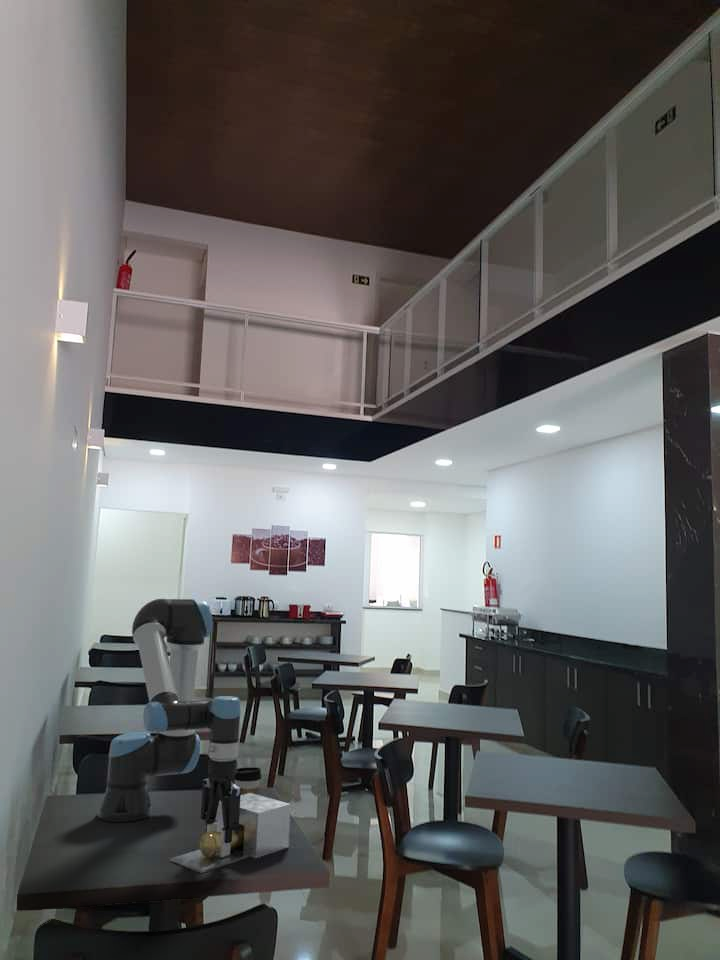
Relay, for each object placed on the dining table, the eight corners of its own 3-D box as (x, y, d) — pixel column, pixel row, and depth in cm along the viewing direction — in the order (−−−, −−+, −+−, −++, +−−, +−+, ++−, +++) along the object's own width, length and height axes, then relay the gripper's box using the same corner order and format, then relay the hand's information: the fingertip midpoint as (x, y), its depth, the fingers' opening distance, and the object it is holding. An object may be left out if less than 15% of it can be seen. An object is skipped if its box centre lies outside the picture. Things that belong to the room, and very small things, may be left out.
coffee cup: (253, 827, 214) (256, 773, 216) (226, 824, 216) (229, 770, 218) (263, 818, 222) (265, 766, 224) (236, 816, 224) (239, 764, 226)
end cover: (198, 854, 188) (200, 831, 189) (239, 842, 199) (240, 820, 200) (213, 860, 185) (214, 836, 186) (253, 846, 195) (255, 824, 196)
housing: (165, 859, 186) (168, 813, 188) (248, 833, 208) (250, 792, 210) (206, 875, 176) (209, 826, 178) (288, 847, 198) (290, 804, 200)
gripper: (189, 754, 196) (184, 848, 192) (235, 766, 184) (229, 865, 181) (212, 750, 201) (206, 841, 198) (257, 761, 190) (252, 857, 187)
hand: (217, 852), depth 189 cm, fingers closed on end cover, 5 cm apart
